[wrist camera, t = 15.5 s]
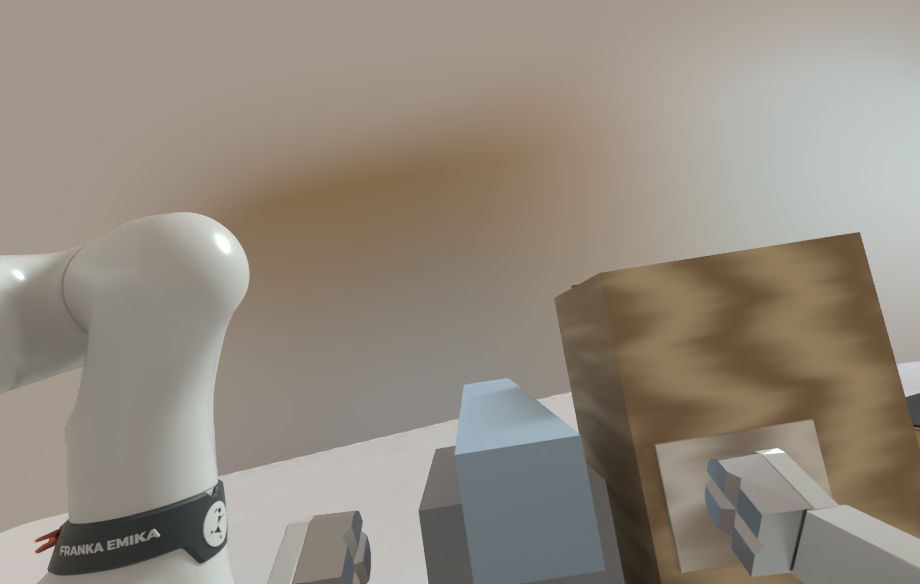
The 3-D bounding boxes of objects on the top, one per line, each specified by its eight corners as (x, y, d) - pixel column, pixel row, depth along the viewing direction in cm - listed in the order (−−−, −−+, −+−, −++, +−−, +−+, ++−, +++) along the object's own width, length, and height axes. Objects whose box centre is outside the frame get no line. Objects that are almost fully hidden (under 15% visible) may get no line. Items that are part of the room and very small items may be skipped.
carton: (713, 834, 20) (600, 269, 23) (619, 652, 32) (553, 296, 35) (1015, 782, 20) (862, 228, 24) (809, 620, 32) (727, 268, 36)
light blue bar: (474, 590, 14) (454, 454, 14) (471, 430, 39) (464, 384, 40) (605, 569, 14) (580, 435, 14) (515, 423, 39) (508, 378, 40)
